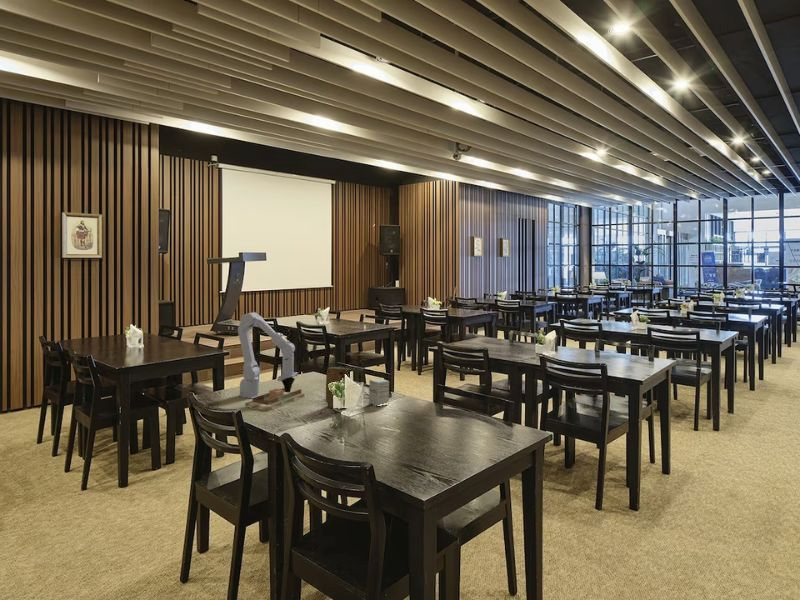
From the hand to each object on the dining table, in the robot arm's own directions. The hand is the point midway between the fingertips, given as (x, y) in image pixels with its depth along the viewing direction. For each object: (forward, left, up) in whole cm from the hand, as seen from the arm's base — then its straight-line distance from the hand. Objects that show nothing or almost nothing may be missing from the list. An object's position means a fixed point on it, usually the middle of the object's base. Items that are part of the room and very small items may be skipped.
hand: (287, 392), depth 267 cm
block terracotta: (0, -9, -1) cm, 10 cm away
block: (+32, -2, -3) cm, 32 cm away
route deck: (0, -9, -3) cm, 10 cm away
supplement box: (+47, +13, -3) cm, 49 cm away
